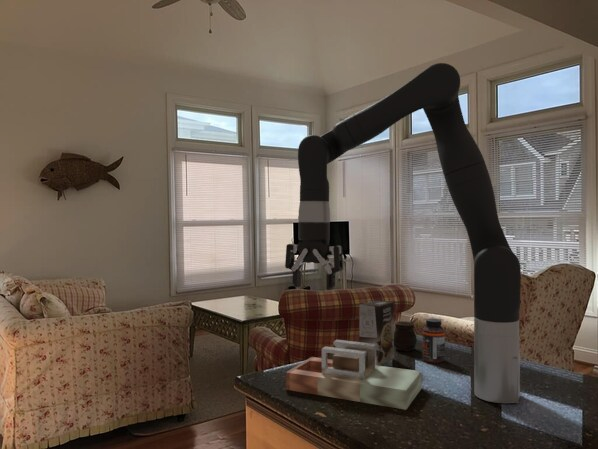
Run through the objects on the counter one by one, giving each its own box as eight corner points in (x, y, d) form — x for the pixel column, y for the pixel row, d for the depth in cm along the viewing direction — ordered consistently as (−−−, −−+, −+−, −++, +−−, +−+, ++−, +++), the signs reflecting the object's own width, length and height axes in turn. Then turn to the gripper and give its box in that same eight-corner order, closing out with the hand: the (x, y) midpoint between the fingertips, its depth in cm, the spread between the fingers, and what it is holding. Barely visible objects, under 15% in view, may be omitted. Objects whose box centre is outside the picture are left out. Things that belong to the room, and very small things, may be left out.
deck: (421, 388, 115) (421, 371, 115) (406, 409, 102) (406, 390, 102) (311, 372, 127) (311, 356, 127) (285, 389, 115) (285, 372, 115)
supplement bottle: (418, 358, 139) (418, 318, 139) (436, 356, 141) (436, 316, 141) (430, 364, 133) (430, 322, 133) (449, 362, 135) (449, 321, 135)
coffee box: (379, 367, 131) (379, 306, 131) (358, 362, 135) (358, 303, 135) (395, 359, 139) (394, 301, 138) (374, 355, 143) (374, 299, 142)
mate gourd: (395, 345, 154) (396, 313, 153) (420, 348, 150) (420, 315, 150) (388, 350, 147) (389, 317, 147) (414, 354, 144) (414, 319, 144)
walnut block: (366, 369, 116) (366, 352, 116) (357, 376, 111) (357, 358, 111) (342, 366, 119) (342, 349, 119) (332, 373, 114) (332, 355, 114)
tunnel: (376, 368, 117) (376, 343, 117) (363, 380, 109) (363, 353, 109) (336, 363, 121) (336, 339, 121) (321, 373, 113) (321, 348, 113)
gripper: (347, 221, 119) (346, 288, 119) (295, 220, 125) (294, 284, 126) (335, 221, 112) (334, 292, 112) (280, 220, 119) (279, 287, 119)
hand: (313, 288), depth 119 cm, fingers open, 8 cm apart
